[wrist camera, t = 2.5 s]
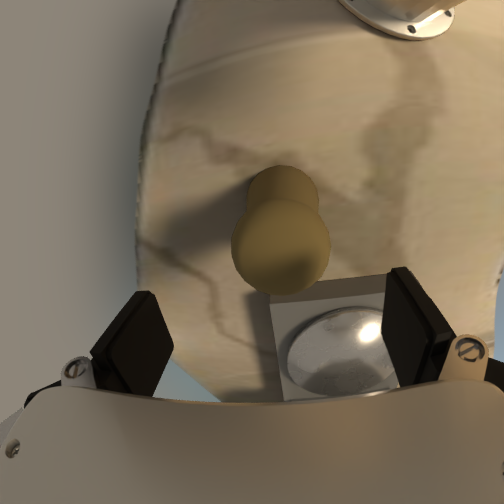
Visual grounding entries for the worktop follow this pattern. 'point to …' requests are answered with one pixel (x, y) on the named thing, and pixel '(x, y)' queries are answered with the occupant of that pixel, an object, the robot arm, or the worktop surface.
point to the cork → (281, 233)
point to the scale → (312, 306)
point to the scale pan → (340, 352)
